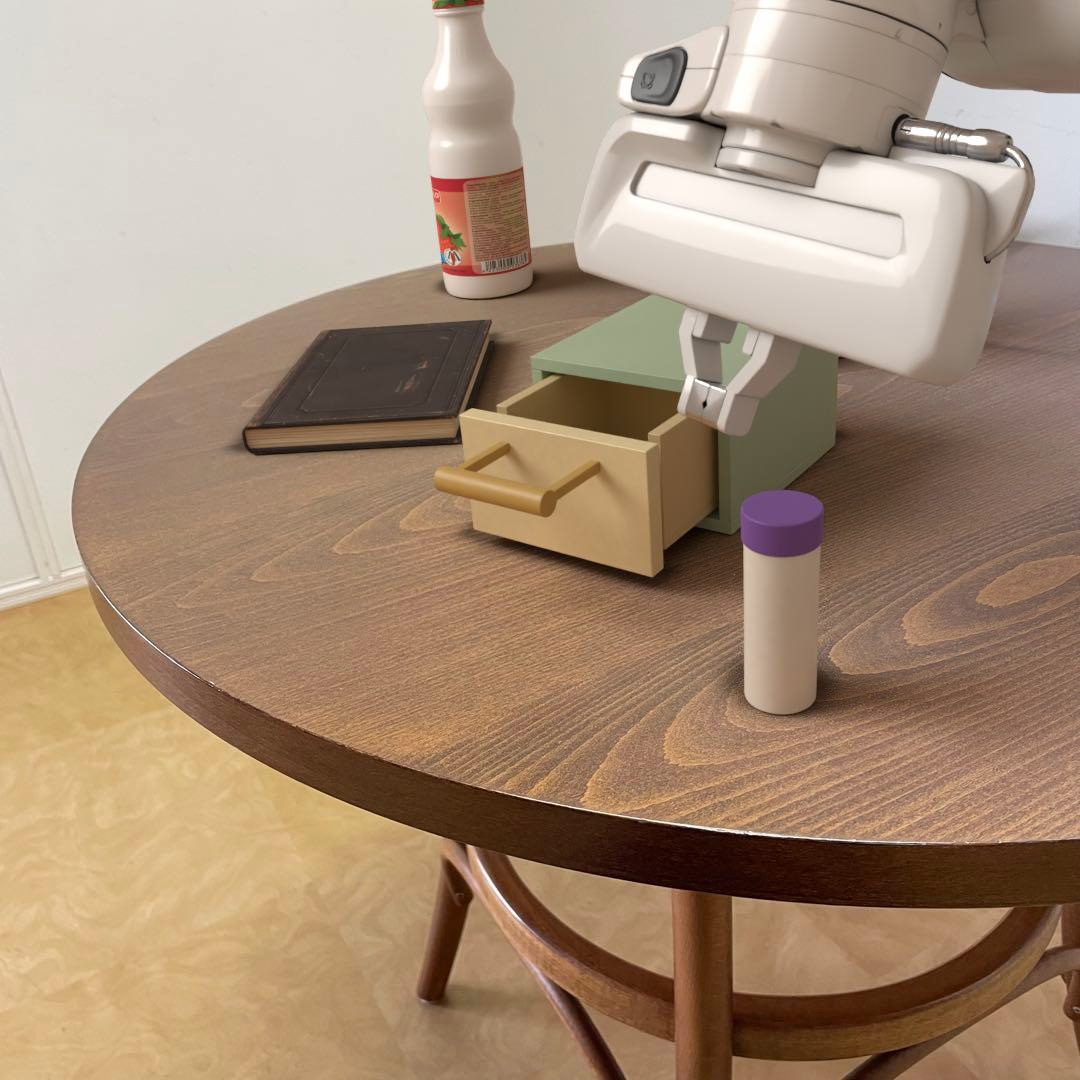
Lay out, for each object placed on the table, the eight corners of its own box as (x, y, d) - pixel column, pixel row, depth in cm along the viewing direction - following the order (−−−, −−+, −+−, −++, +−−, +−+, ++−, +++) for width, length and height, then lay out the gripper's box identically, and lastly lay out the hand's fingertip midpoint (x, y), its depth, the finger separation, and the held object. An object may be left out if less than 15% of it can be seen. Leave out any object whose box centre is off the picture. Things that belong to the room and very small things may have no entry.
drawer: (594, 627, 56) (584, 494, 53) (410, 570, 63) (391, 450, 60) (768, 481, 69) (768, 367, 66) (600, 447, 76) (592, 343, 73)
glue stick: (830, 685, 52) (837, 498, 47) (798, 725, 49) (802, 532, 45) (762, 665, 53) (763, 483, 49) (728, 702, 51) (726, 514, 47)
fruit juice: (522, 299, 114) (492, -8, 101) (433, 301, 116) (393, 1, 103) (543, 274, 122) (517, -13, 109) (460, 276, 124) (425, -5, 111)
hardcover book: (494, 343, 102) (491, 318, 100) (460, 443, 81) (456, 413, 80) (321, 354, 103) (316, 330, 102) (245, 455, 83) (239, 426, 82)
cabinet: (731, 535, 65) (729, 386, 61) (542, 491, 73) (529, 356, 69) (835, 444, 75) (840, 311, 71) (660, 414, 83) (655, 292, 79)
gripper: (1088, 160, 41) (951, 512, 45) (687, 97, 55) (607, 370, 59) (1012, 113, 37) (867, 507, 41) (597, 58, 51) (517, 356, 55)
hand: (710, 425), depth 50 cm, fingers closed
